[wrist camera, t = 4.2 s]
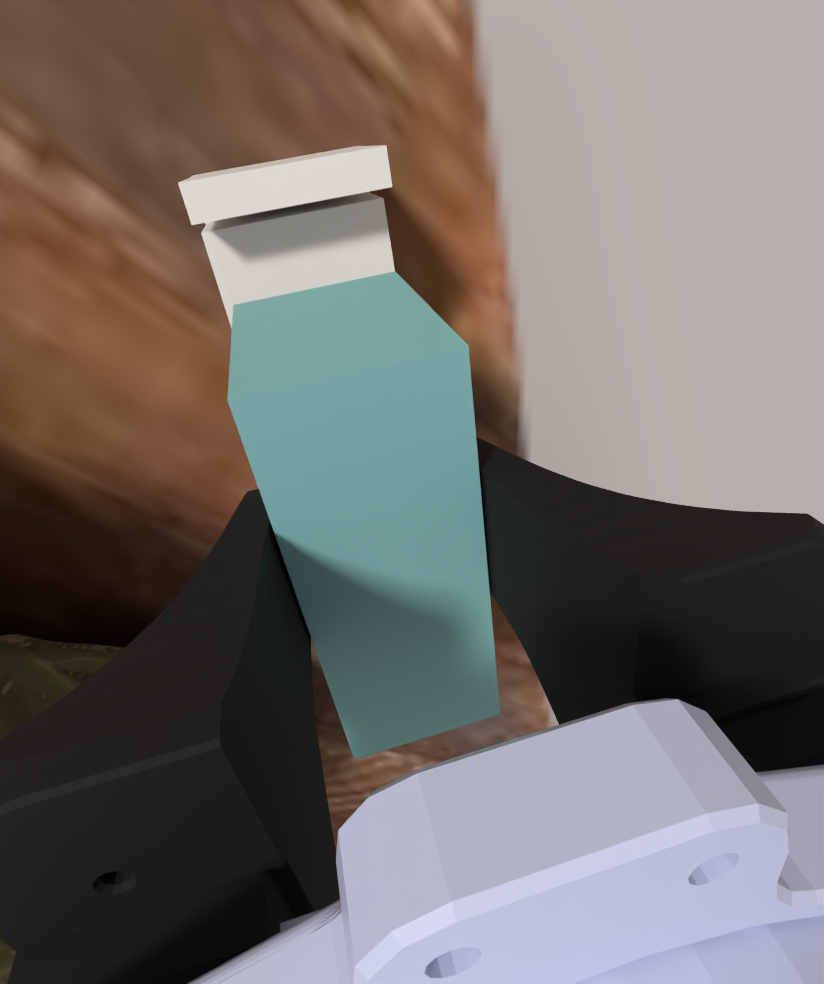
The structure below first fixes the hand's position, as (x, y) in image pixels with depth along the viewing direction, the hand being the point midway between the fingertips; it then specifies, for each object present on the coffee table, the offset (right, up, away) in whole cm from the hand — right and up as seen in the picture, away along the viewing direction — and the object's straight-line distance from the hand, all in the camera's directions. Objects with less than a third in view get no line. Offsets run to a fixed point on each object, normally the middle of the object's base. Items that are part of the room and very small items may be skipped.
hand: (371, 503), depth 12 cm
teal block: (-1, +1, +3) cm, 3 cm away
